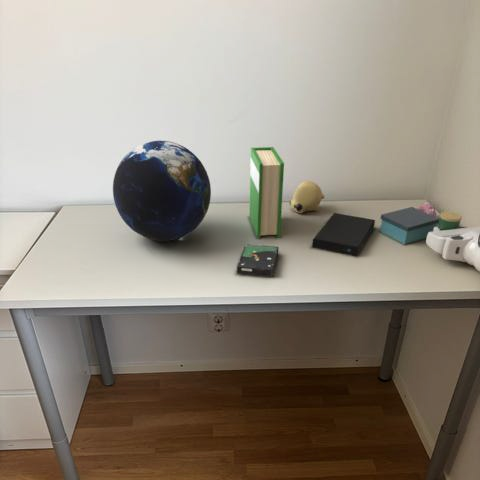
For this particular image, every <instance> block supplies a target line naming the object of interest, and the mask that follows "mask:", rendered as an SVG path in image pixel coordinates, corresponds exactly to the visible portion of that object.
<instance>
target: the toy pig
mask: <svg viewBox="0 0 480 480" xmlns="http://www.w3.org/2000/svg"><path fill="white" fill-rule="evenodd" d="M325 197H326V196H325V194H323V192H322V188H321V187H320V186H319V184H317V183H316V182H314V181H311V180H304V181H302V182H301V183H299V185H298V186H297V187H296V190H295V191H294V193H293V197H292V199H291V200H290V202H289V206H290V208H291V209H292V210H293V211H294V212H295V213H298V214H303V213H305V212H311V211H315V212H317V211H319V205H320V203H321V202H322V200H324V199H325Z"/></svg>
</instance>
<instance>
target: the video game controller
mask: <svg viewBox="0 0 480 480" xmlns="http://www.w3.org/2000/svg"><path fill="white" fill-rule="evenodd" d="M415 208H416V209H418V210H420V211H423V212H425V213H427V214H429V215H432V216H434V217H436V216H437V211H436V207H435V206H434V205H433V204H432V203H429V202H424V203H422V204H421V205H419V206H418V207H415Z"/></svg>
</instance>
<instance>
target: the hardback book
mask: <svg viewBox="0 0 480 480" xmlns="http://www.w3.org/2000/svg"><path fill="white" fill-rule="evenodd" d="M284 170H285V162H284V161H283V159H282V158H281V157H280V155H279V153H278V152H277V151H276V149H275V148H274V146H263V147H261V146H260V147H258V146H257V147H250V171H249V172H250V173H249V220H250V222H251V224H252V228H253V230H254V233H255V236H256V238H257V239H261V236H276V238H281V228H282V227H281V226H282V223H281V222H282V209H283V192H284V191H283V190H284V174H285V172H284Z"/></svg>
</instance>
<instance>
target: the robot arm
mask: <svg viewBox="0 0 480 480" xmlns="http://www.w3.org/2000/svg"><path fill="white" fill-rule="evenodd" d="M425 239H426V240H425V244H426V246H428V247H429V248H430V249H432V250H433V251H434V252H435V253H437V254H440V255H441V257H442V258H443V260H446V261H457V262H463V263H467V264H468V265H470V266H473V267H474V268H475V270H477V271H478V272H479V273H480V226H472V227H468V226H464V225H462V224H460V225H459V228H458V229H452V230H442V231H441V228H440V227H438V226H436V227H434V230H433V232H429V233H428V235H427V238H425Z"/></svg>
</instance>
